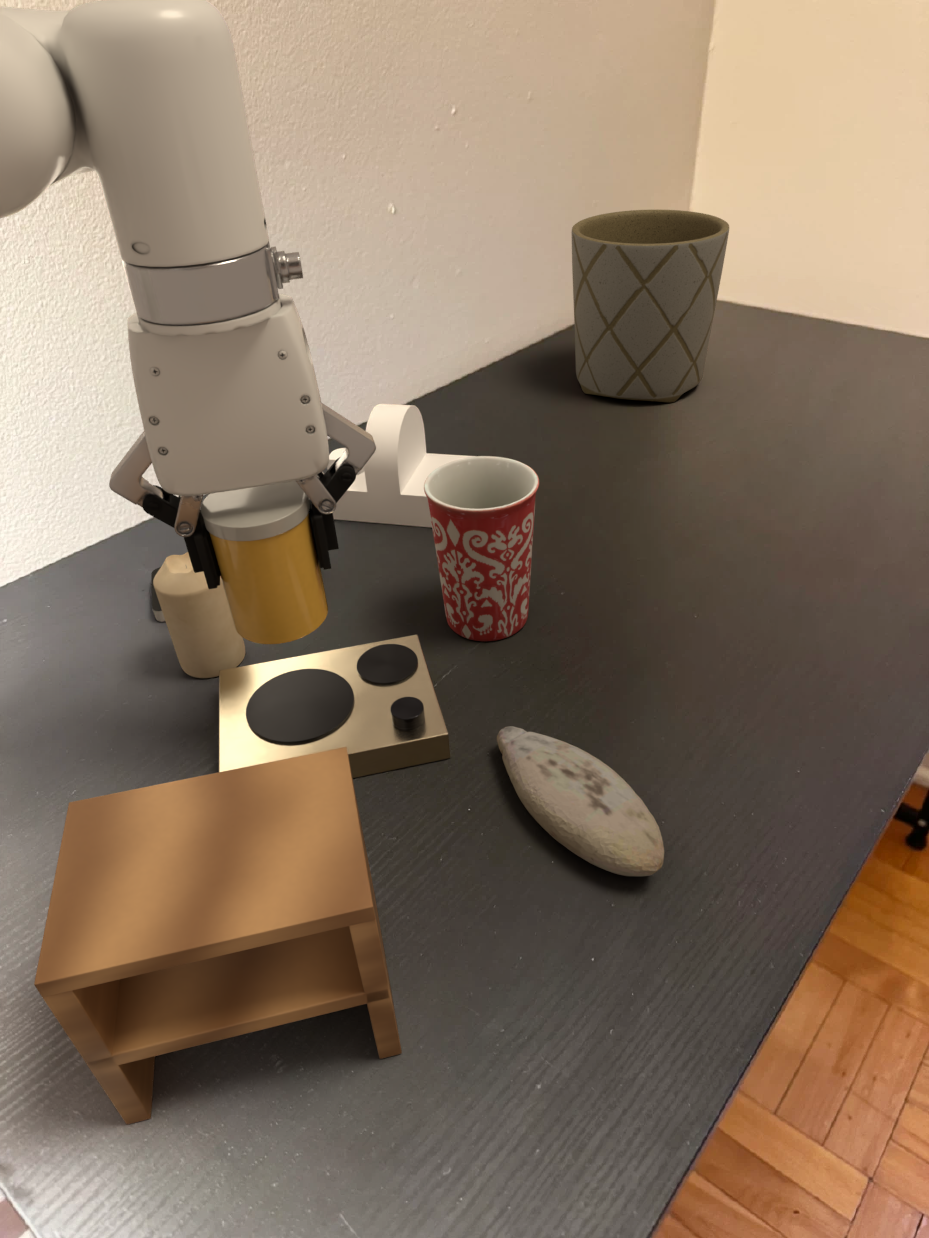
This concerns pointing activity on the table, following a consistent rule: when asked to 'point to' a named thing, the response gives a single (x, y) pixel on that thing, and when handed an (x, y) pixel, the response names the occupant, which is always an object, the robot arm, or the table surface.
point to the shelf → (211, 917)
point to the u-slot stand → (392, 471)
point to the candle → (197, 619)
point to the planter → (645, 300)
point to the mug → (483, 543)
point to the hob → (334, 708)
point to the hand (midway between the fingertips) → (269, 566)
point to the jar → (267, 561)
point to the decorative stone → (582, 803)
